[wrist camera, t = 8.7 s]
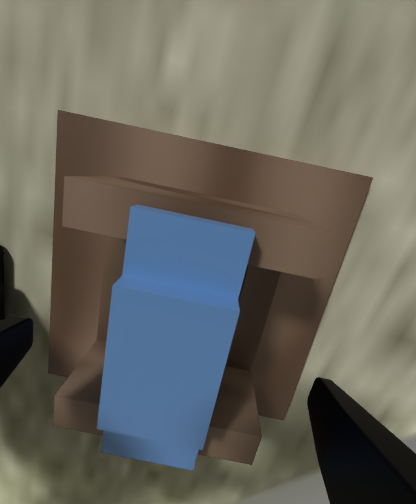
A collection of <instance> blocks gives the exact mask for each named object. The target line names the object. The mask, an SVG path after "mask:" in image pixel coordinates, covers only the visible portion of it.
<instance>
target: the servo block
mask: <svg viewBox="0 0 416 504" xmlns="http://www.w3.org/2000/svg"><path fill="white" fill-rule="evenodd" d="M254 237H255V231H254V230H253V229H252V228H247V227H242V226H237V225H233V224H228V223H223V222H218V221H214V220H209V219H204V218H200V217H195V216H190V215H185V214H181V213H176V212H171V211H166V210H162V209H157V208H152V207H148V206H143V205H138V204H137V205H134V206H131V207H130V214H129V223H128V231H127V239H126V248H125V256H124V265H123V273H122V276H121V277H120V278H119V279H118V280H117V281H116V282H115V283H114V284H113V286H112V295H111V304H110V313H109V322H108V331H107V340H106V349H105V358H104V368H103V377H102V386H101V395H100V404H99V413H98V422H97V429H99V430H104V432H103V440H102V448H101V453H106V454H111V455H116V456H121V457H126V458H131V459H136V460H141V461H147V462H152V463H157V464H162V465H167V466H172V467H177V468H182V469H187V470H192V471H193V469H194V465H195V462H196V458H197V454H198V450H199V449H200V450H203V447H204V443H205V440H206V436H207V432H208V428H209V425H210V421H211V417H212V414H213V410H214V406H215V402H216V399H217V395H218V391H219V387H220V384H221V380H222V376H223V373H224V369H225V365H226V361H227V358H228V354H229V350H230V347H231V343H232V339H233V335H234V332H235V328H236V324H237V321H238V317H239V313H240V309H239V302H238V298H239V294H240V290H241V287H242V283H243V279H244V275H245V271H246V268H247V264H248V260H249V256H250V252H251V249H252V245H253V241H254Z"/></svg>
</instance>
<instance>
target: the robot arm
mask: <svg viewBox="0 0 416 504" xmlns="http://www.w3.org/2000/svg"><path fill="white" fill-rule="evenodd" d="M32 343H33V320H32V319H31V318H28V317H23V316H14V317H11V318H7V319H5V313H4V263H3V249H2V248H1V246H0V388H1V386H2V385H3V384H4V382H5V381H6V380H7V378H8V377H9V376H10V375H11V373H12V372H13V371H14V369H15V368H16V367H17V365H18V364H19V363H20V361H21V360H22V359H23V357H24V356H25V355H26V353H27V352H28V351H29V349H30V348H31V346H32ZM307 404H308V410H309V416H310V421H311V427H312V432H313V437H314V443H315V448H316V453H317V458H318V462H319V466H320V470H321V473H322V477H323V480H324V484H325V487H326V491H327V494H328V498H329V501H330V504H416V454H415V453H414V452H413V451H412V450H411V449H410V448H409V447H407V446H406V445H405V444H404V443H403V442H402V441H401V440H399V439H398V438H397V437H396V436H395V435H394V434H393V433H391V432H390V431H389V430H388V429H387V428H386V427H384V426H383V425H382V424H381V423H380V422H379V421H378V420H376V419H375V418H374V417H373V416H372V415H371V414H369V413H368V412H367V411H366V410H365V409H364V408H363V407H361V406H360V405H359V404H358V403H357V402H356V401H355V400H353V399H352V398H351V397H350V396H349V395H348V394H346V393H345V392H344V391H343V390H342V389H341V388H340V387H338V386H337V385H336V384H335V383H334V382H333V381H331V380H329V379H325V378H320V377H318V378H316V379H315V381H314V383H313V386H312V389H311V391H310V394H309V396H308V401H307Z"/></svg>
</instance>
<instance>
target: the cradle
mask: <svg viewBox="0 0 416 504" xmlns="http://www.w3.org/2000/svg"><path fill="white" fill-rule="evenodd" d="M372 179H373V178H372V177H368V176H363V175H358V174H354V173H349V172H344V171H340V170H335V169H330V168H326V167H321V166H316V165H312V164H307V163H302V162H298V161H293V160H288V159H284V158H279V157H274V156H270V155H265V154H261V153H256V152H251V151H247V150H242V149H237V148H233V147H228V146H223V145H219V144H214V143H209V142H205V141H200V140H195V139H191V138H186V137H181V136H177V135H172V134H167V133H163V132H158V131H154V130H149V129H144V128H140V127H135V126H130V125H126V124H121V123H116V122H112V121H107V120H102V119H98V118H93V117H88V116H84V115H79V114H74V113H70V112H65V111H60V110H58V119H57V147H56V174H55V202H54V230H53V257H52V285H51V313H50V340H49V368H48V373H50V374H55V375H60V376H65V377H68V378H67V380H66V381H65V382H64V384H63V385H62V386H61V388H60V389H59V390H58V392H57V393H56V394H55V396H54V415H53V426H57V427H62V428H67V429H72V430H77V431H82V432H87V433H92V434H97V435H103V432H104V430H99V429H97V422H98V413H99V404H100V395H101V386H102V377H103V368H104V358H105V349H106V340H107V331H108V322H109V313H110V304H111V295H112V286H113V284H114V283H115V282H116V281H117V280H118V279H119V278H120V277H121V276H122V273H123V265H124V256H125V248H126V239H127V231H128V223H129V214H130V207H131V206H134V205H137V204H138V205H143V206H148V207H152V208H157V209H162V210H166V211H171V212H176V213H181V214H185V215H190V216H195V217H200V218H204V219H209V220H214V221H218V222H223V223H228V224H233V225H237V226H242V227H247V228H252V229H253V230H254V231H255V237H254V241H253V245H252V249H251V252H250V256H249V260H248V264H247V268H246V271H245V275H244V279H243V283H242V287H241V290H240V294H239V298H238V302H239V309H240V313H239V317H238V321H237V324H236V328H235V332H234V335H233V339H232V343H231V347H230V350H229V354H228V358H227V361H226V365H225V369H224V373H223V376H222V380H221V384H220V387H219V391H218V395H217V399H216V402H215V406H214V410H213V414H212V417H211V421H210V425H209V428H208V432H207V436H206V440H205V443H204V447H203V450H200V449H199V450H198V454H199V455H204V456H209V457H214V458H219V459H225V460H230V461H235V462H240V463H245V464H250V465H252V463H253V461H254V458H255V455H256V452H257V449H258V446H259V443H260V440H261V438H262V435H261V429H260V423H259V417H258V415H260V416H265V417H270V418H275V419H280V420H284V417H285V414H286V412H287V409H288V406H289V404H290V401H291V398H292V396H293V393H294V390H295V387H296V385H297V382H298V379H299V377H300V374H301V371H302V369H303V366H304V363H305V360H306V358H307V355H308V352H309V350H310V347H311V344H312V341H313V339H314V336H315V333H316V331H317V328H318V325H319V323H320V320H321V317H322V314H323V312H324V309H325V306H326V304H327V301H328V298H329V295H330V293H331V290H332V287H333V285H334V282H335V279H336V277H337V274H338V271H339V268H340V266H341V263H342V260H343V258H344V255H345V252H346V249H347V247H348V244H349V241H350V239H351V236H352V233H353V231H354V228H355V225H356V222H357V220H358V217H359V214H360V212H361V209H362V206H363V204H364V201H365V198H366V195H367V193H368V190H369V187H370V185H371V182H372Z"/></svg>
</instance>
